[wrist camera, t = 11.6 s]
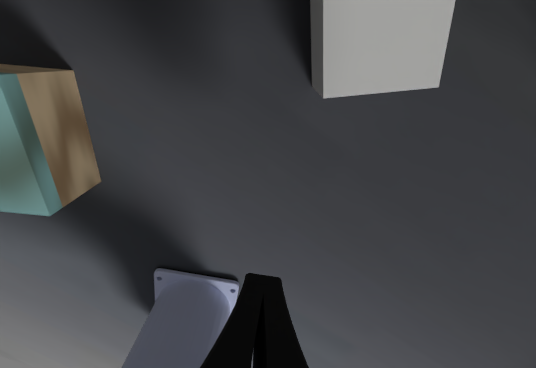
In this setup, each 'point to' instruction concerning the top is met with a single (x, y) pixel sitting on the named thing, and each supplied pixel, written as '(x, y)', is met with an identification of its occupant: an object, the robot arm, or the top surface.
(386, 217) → the top surface
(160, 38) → the top surface
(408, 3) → the grey block
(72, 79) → the oak block
